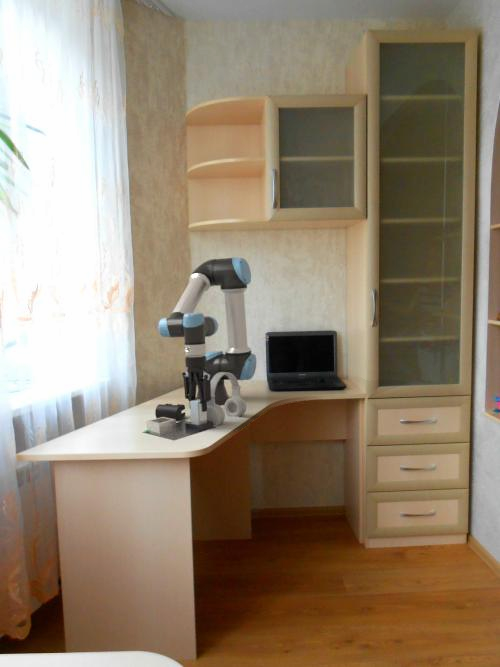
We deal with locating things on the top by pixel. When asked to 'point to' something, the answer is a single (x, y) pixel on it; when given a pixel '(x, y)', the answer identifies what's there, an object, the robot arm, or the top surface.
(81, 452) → the top surface
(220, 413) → the headphones
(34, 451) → the top surface
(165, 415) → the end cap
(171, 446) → the top surface
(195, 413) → the plug
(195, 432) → the panel
